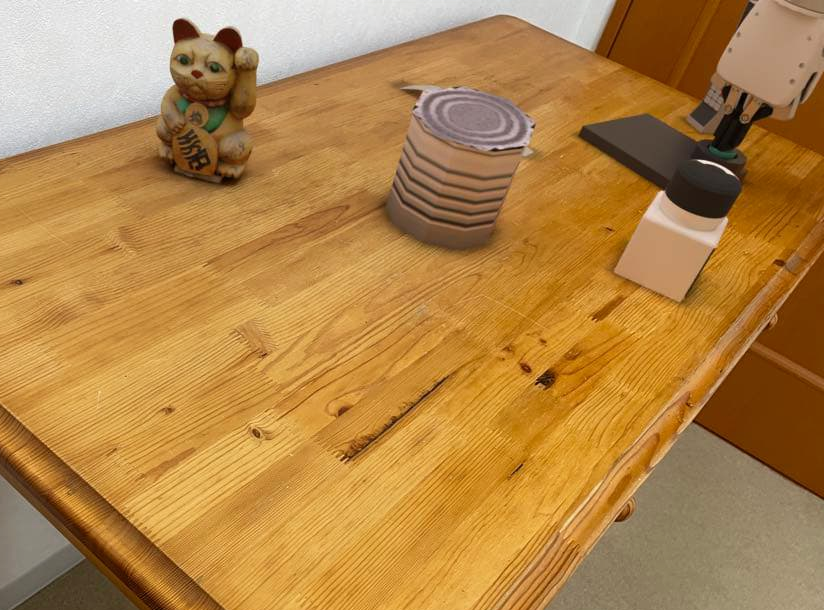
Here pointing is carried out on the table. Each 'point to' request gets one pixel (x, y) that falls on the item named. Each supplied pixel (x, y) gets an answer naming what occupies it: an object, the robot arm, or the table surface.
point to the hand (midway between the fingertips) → (722, 147)
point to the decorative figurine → (208, 103)
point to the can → (457, 166)
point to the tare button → (726, 154)
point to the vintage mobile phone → (713, 99)
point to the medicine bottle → (681, 229)
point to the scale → (654, 147)
